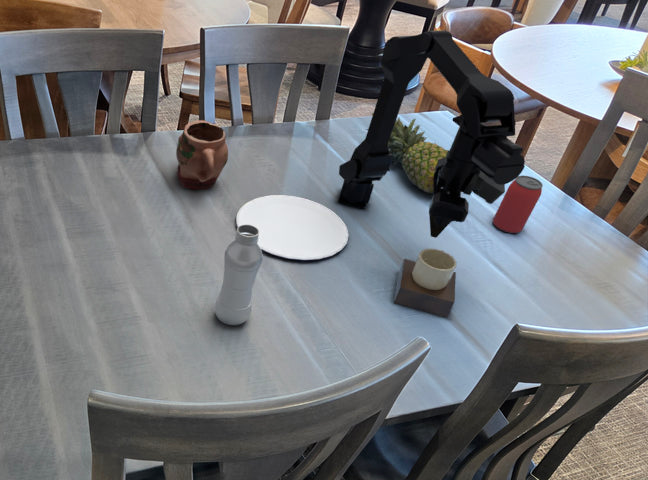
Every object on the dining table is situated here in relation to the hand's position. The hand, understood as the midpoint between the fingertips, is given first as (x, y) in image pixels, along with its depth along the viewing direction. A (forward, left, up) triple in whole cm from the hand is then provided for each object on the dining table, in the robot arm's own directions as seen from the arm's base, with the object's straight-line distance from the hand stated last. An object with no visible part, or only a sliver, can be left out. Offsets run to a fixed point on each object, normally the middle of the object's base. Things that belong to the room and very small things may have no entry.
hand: (434, 224), depth 125 cm
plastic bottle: (-31, -31, -12) cm, 46 cm away
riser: (+2, -8, -11) cm, 14 cm away
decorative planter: (-52, +12, -12) cm, 55 cm away
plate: (-27, +3, -12) cm, 30 cm away
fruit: (-5, +44, -12) cm, 45 cm away
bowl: (+2, -8, -7) cm, 11 cm away
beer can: (+19, +27, -12) cm, 35 cm away
